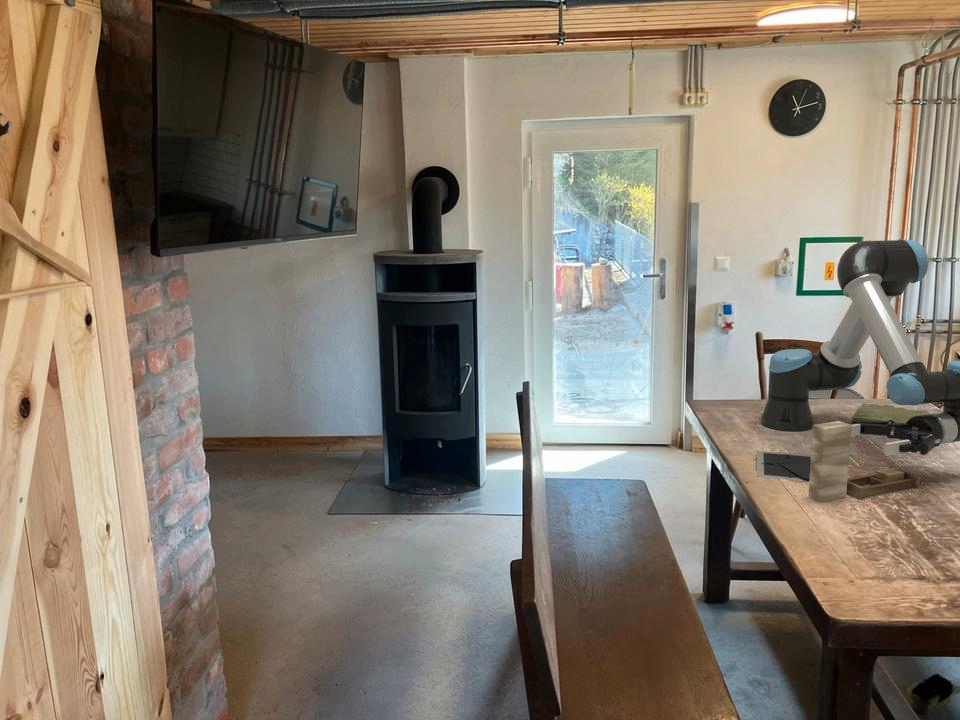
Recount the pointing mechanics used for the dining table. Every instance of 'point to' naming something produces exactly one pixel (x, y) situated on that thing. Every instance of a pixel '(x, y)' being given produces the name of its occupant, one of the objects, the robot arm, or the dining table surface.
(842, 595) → the dining table surface
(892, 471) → the oak offcut
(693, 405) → the dining table surface
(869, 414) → the decorative tile
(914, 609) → the dining table surface
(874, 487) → the tray
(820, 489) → the tall grained pillar
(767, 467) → the picture frame
